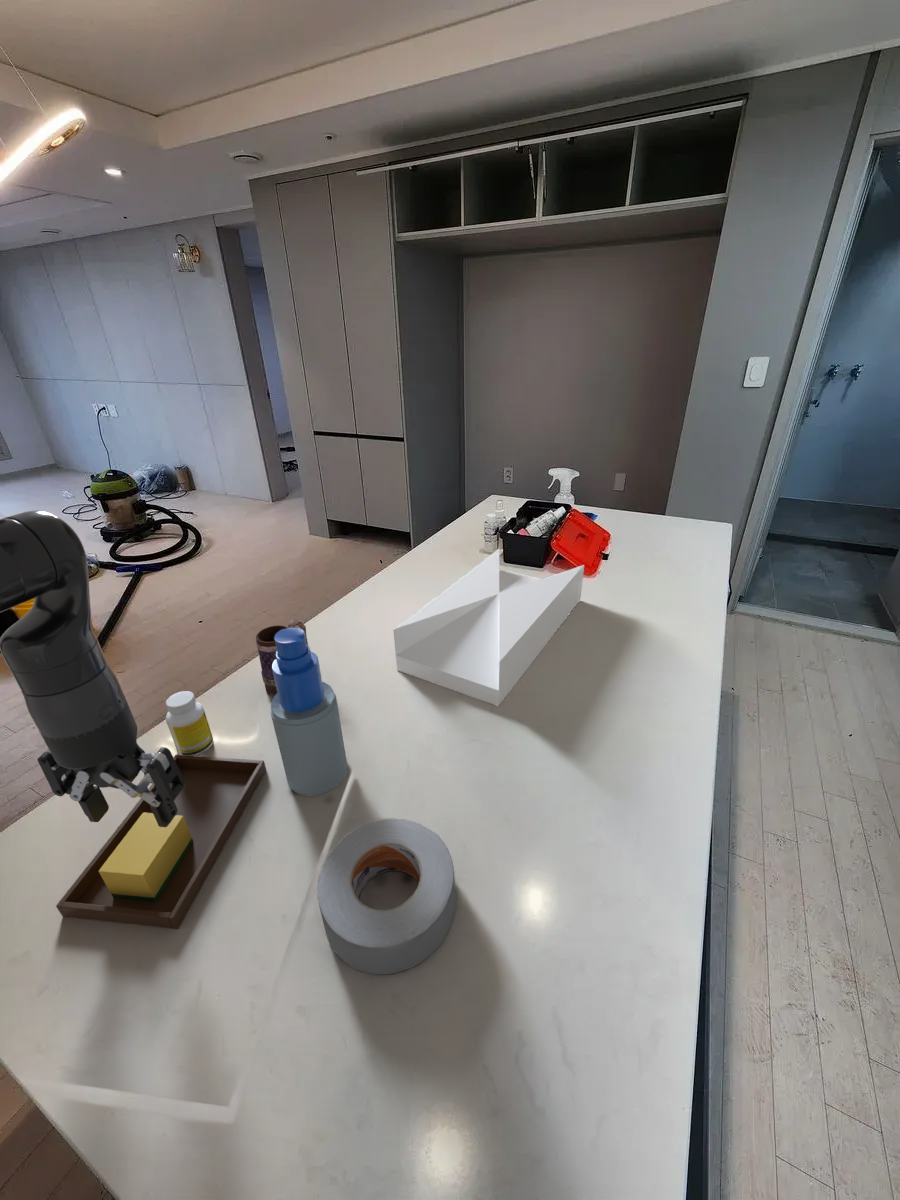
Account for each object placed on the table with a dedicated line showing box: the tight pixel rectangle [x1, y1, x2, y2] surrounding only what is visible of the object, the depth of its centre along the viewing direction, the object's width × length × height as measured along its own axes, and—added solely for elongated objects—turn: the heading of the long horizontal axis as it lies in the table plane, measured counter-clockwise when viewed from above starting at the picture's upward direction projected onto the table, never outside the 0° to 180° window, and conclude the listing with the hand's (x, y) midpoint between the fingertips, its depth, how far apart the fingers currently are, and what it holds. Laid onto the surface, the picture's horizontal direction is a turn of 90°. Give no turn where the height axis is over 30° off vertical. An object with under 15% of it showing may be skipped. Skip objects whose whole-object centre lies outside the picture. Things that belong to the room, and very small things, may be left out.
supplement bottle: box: [165, 690, 214, 756], centre depth 80 cm, size 5×5×10 cm
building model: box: [392, 548, 585, 707], centre depth 109 cm, size 45×22×10 cm, turn 149°
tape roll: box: [317, 817, 457, 975], centre depth 58 cm, size 15×15×5 cm
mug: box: [255, 618, 309, 697], centre depth 95 cm, size 10×7×12 cm
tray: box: [55, 754, 267, 930], centre depth 67 cm, size 14×23×3 cm, turn 174°
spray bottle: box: [270, 627, 349, 797], centre depth 71 cm, size 9×9×25 cm
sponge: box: [99, 813, 193, 902], centre depth 62 cm, size 6×8×5 cm
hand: (134, 818), depth 59 cm, fingers open, 8 cm apart
